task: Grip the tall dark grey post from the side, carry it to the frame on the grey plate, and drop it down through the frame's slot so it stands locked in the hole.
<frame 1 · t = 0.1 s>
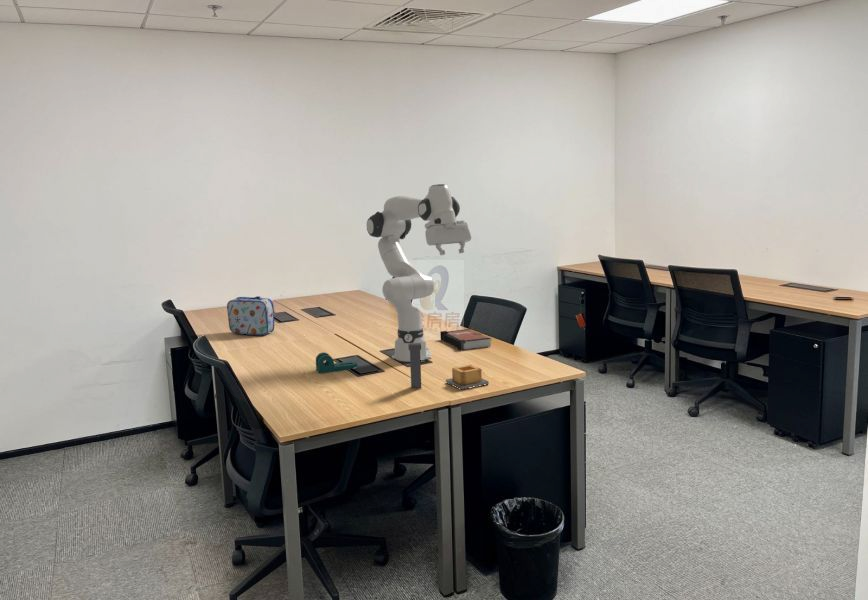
hand: (452, 253, 285), 52 cm above the table, tool tilted 20°, fingers open, 8 cm apart
lunch box: (253, 334, 389), on the table
frame on grey plate: (467, 383, 282), on the table
book: (466, 344, 352), on the table
tall dark grey post: (416, 387, 279), on the table
bracket: (337, 370, 310), on the table
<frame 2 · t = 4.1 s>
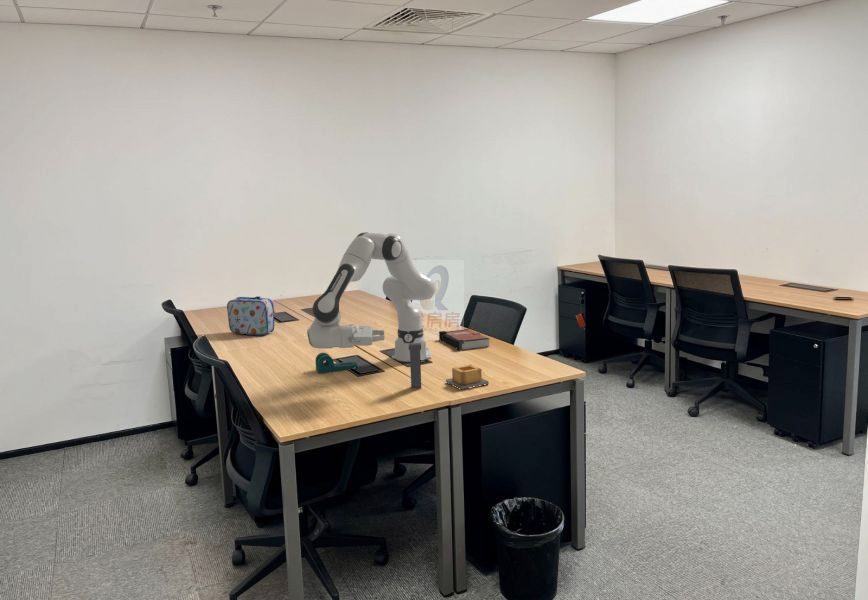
hand: (384, 335, 274), 22 cm above the table, tool horizontal, fingers open, 8 cm apart
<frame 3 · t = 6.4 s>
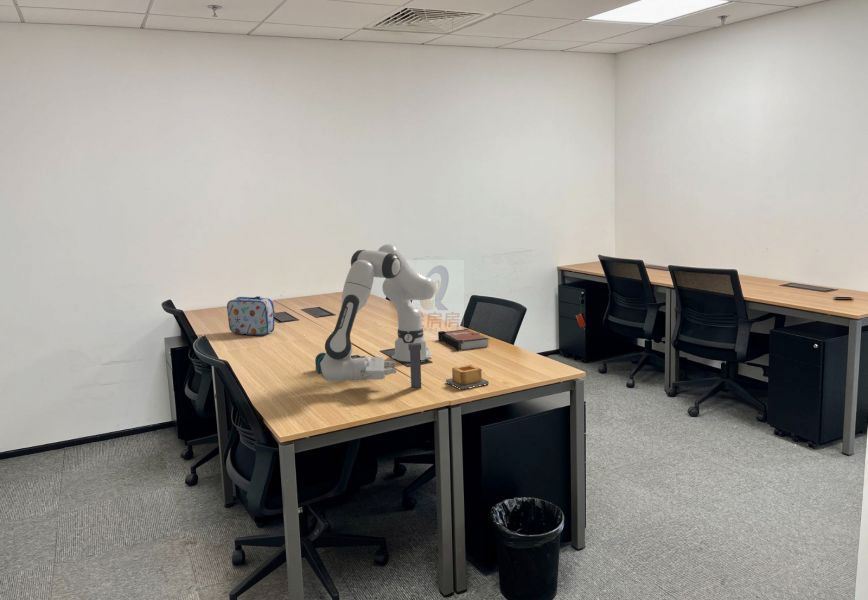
hand: (396, 367, 277), 9 cm above the table, tool horizontal, fingers open, 8 cm apart
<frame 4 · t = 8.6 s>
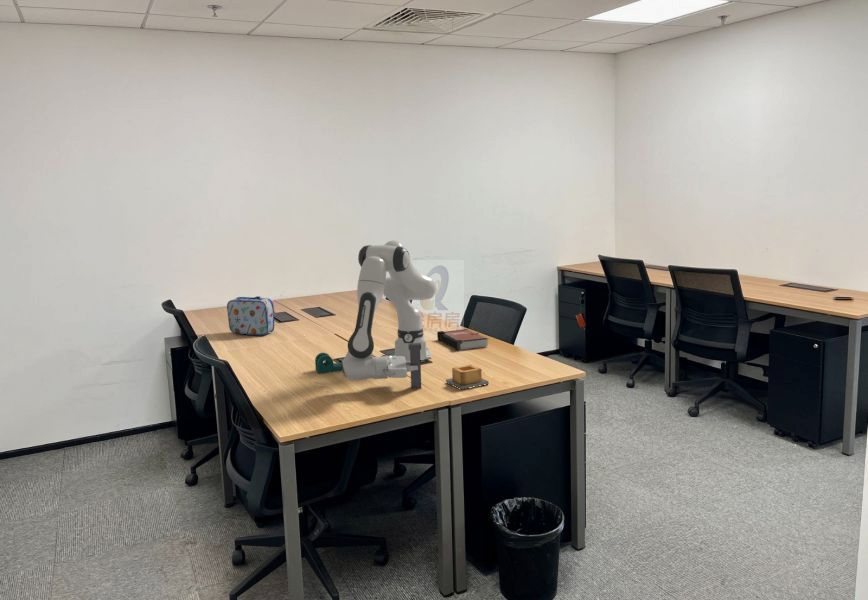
hand: (417, 365, 277), 9 cm above the table, tool horizontal, fingers closed on tall dark grey post, 3 cm apart
tall dark grey post: (416, 387, 279), on the table, touching gripper
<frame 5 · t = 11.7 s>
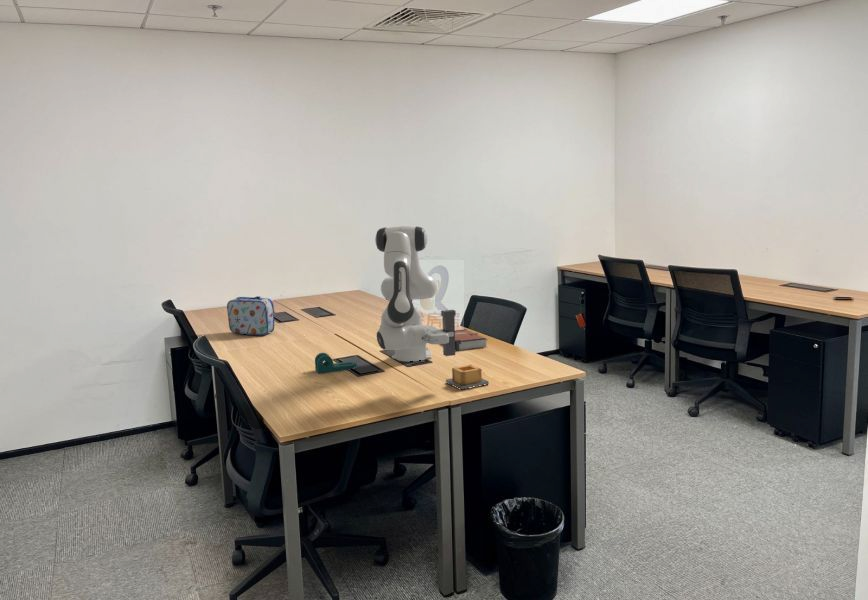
hand: (450, 332, 276), 22 cm above the table, tool horizontal, fingers closed on tall dark grey post, 3 cm apart
tall dark grey post: (449, 354, 277), point 13 cm above the table, touching gripper
when the fingers open (13 cm above the table, at t = 14.7 s): tall dark grey post drops 4 cm, resting in frame on grey plate.
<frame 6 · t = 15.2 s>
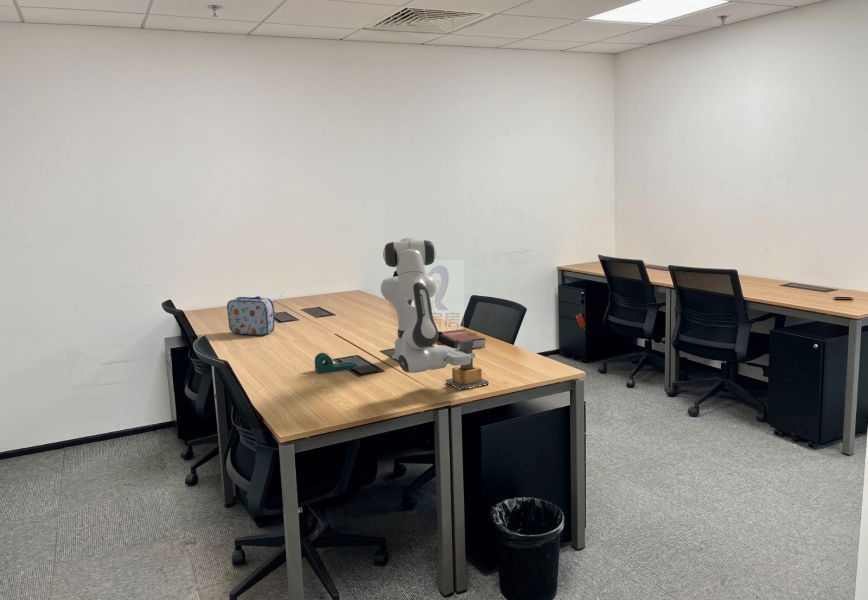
hand: (468, 352, 280), 13 cm above the table, tool horizontal, fingers open, 8 cm apart
tall dark grey post: (467, 383, 282), resting in frame on grey plate
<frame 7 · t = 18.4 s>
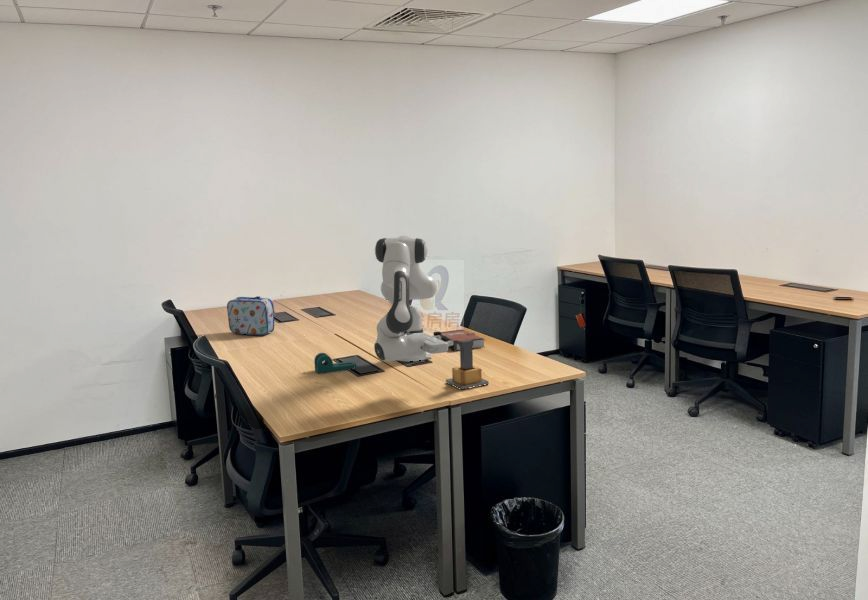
hand: (446, 340, 274), 19 cm above the table, tool horizontal, fingers open, 8 cm apart
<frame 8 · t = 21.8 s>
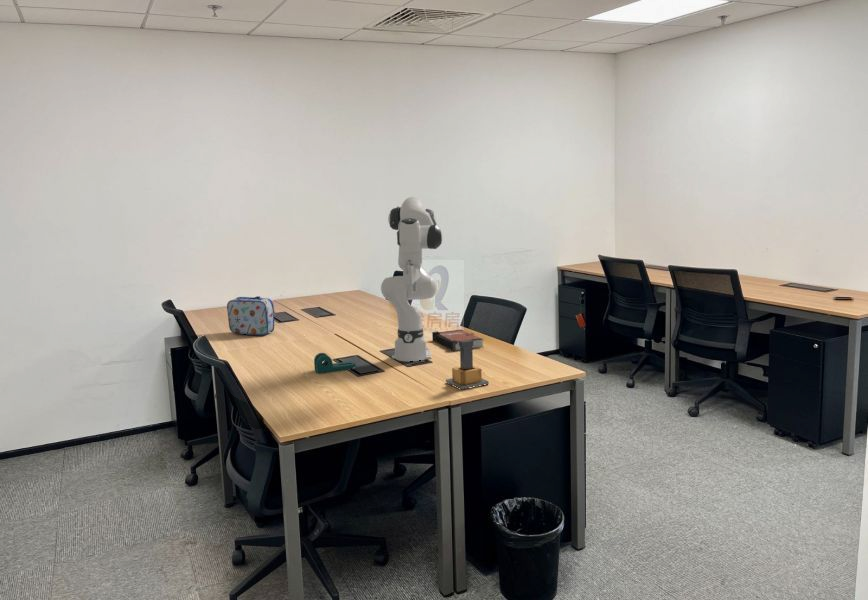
hand: (412, 292, 282), 37 cm above the table, tool pointing down, fingers open, 8 cm apart
at the end: tall dark grey post 0.0 cm off-centre on the frame on grey plate, point 0.0 cm above the frame on grey plate's base; tall dark grey post tilted 0°; the gripper is holding nothing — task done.
